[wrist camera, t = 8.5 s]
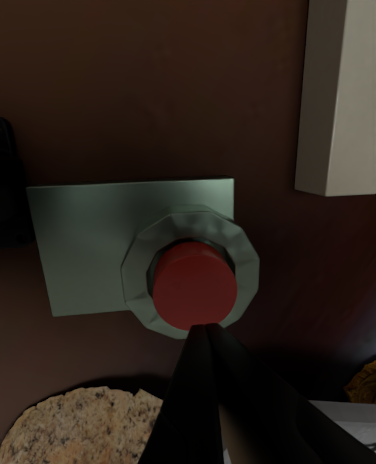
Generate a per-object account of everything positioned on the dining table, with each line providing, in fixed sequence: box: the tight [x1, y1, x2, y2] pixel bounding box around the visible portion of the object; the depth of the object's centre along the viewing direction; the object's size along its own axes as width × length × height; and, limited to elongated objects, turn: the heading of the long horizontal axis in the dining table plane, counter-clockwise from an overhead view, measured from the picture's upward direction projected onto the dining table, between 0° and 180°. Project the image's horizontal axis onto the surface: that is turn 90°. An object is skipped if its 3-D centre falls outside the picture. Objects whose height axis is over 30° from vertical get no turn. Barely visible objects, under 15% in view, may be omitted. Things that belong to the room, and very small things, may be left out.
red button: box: [153, 242, 237, 331], centre depth 11 cm, size 4×4×2 cm
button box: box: [25, 175, 260, 339], centre depth 13 cm, size 11×8×4 cm
